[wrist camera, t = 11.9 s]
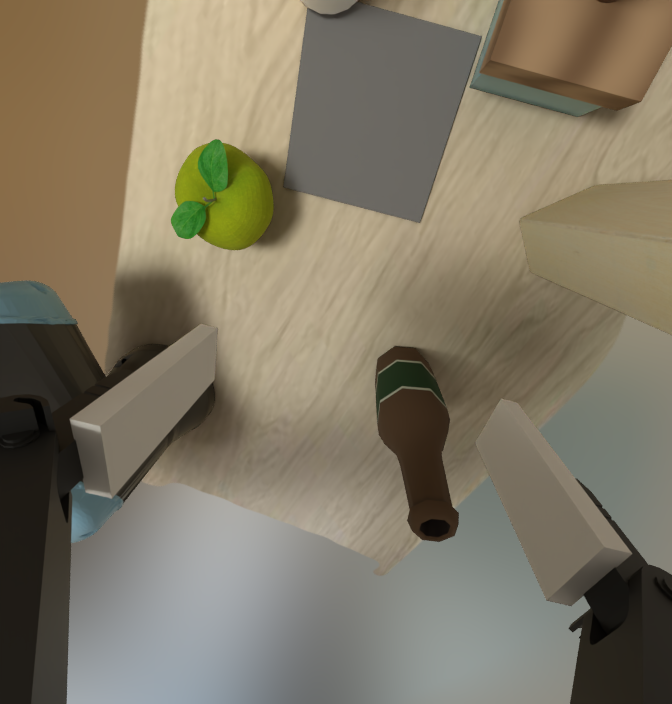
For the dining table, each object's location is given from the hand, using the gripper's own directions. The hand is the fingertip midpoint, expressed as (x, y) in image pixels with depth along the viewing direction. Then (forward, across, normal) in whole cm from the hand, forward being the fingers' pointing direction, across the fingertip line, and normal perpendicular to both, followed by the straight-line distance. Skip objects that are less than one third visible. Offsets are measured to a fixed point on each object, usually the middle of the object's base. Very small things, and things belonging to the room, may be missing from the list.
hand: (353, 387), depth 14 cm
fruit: (+27, -15, +4) cm, 31 cm away
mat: (+27, -3, +15) cm, 31 cm away
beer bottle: (+27, +9, -12) cm, 31 cm away
